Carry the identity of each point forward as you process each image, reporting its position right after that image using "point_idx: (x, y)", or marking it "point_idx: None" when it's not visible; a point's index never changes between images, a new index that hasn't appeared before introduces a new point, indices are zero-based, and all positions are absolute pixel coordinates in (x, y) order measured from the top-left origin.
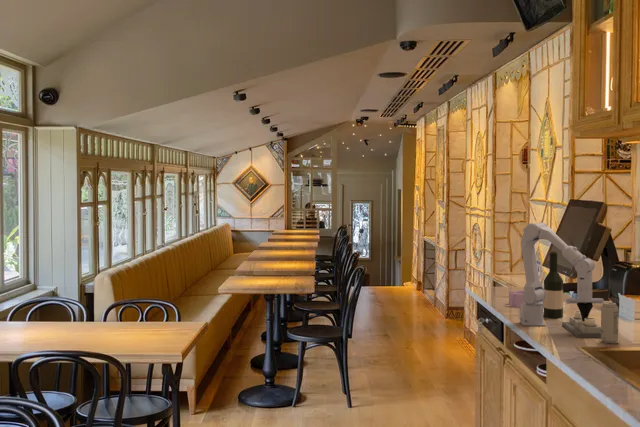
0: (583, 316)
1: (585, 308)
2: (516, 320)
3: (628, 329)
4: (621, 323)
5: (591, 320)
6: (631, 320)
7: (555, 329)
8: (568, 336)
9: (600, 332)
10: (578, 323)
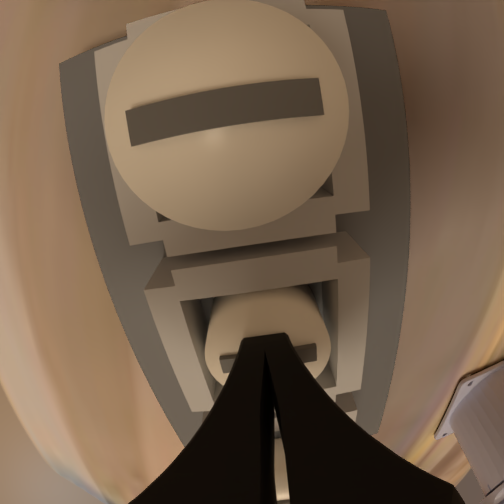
0: (305, 370)
1: (299, 498)
2: None
3: (8, 365)
4: (70, 454)
5: (207, 4)
6: (58, 472)
7: (455, 313)
8: (434, 73)
9: None
10: (367, 256)
